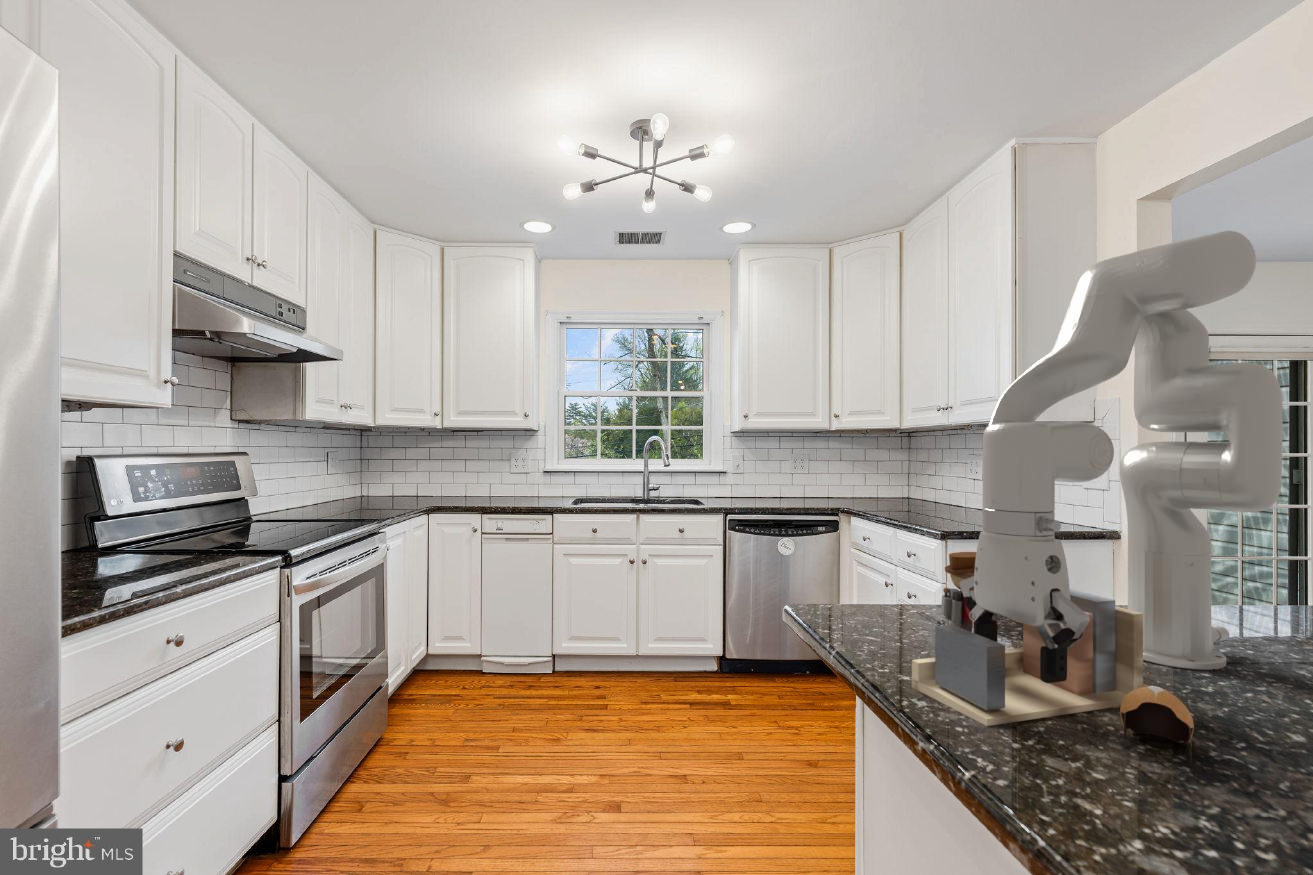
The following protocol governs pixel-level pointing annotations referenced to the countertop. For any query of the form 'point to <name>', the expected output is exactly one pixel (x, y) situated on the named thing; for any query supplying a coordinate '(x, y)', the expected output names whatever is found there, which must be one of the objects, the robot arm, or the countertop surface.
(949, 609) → the toy
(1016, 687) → the book rack
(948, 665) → the bookend
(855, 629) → the countertop surface
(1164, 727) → the helmet
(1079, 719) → the countertop surface
